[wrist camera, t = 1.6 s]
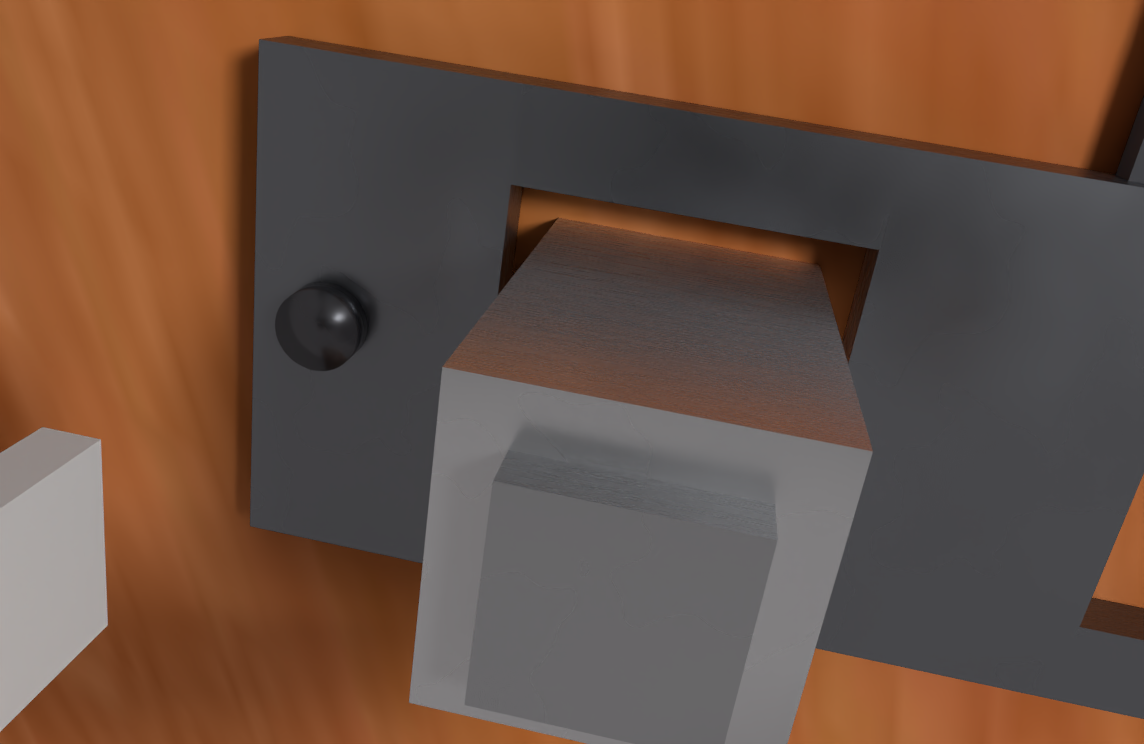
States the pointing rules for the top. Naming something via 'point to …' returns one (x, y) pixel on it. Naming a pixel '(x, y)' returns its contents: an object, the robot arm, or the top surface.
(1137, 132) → the rubber mat
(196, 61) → the top surface
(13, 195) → the top surface
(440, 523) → the grey square block
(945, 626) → the rack rail
